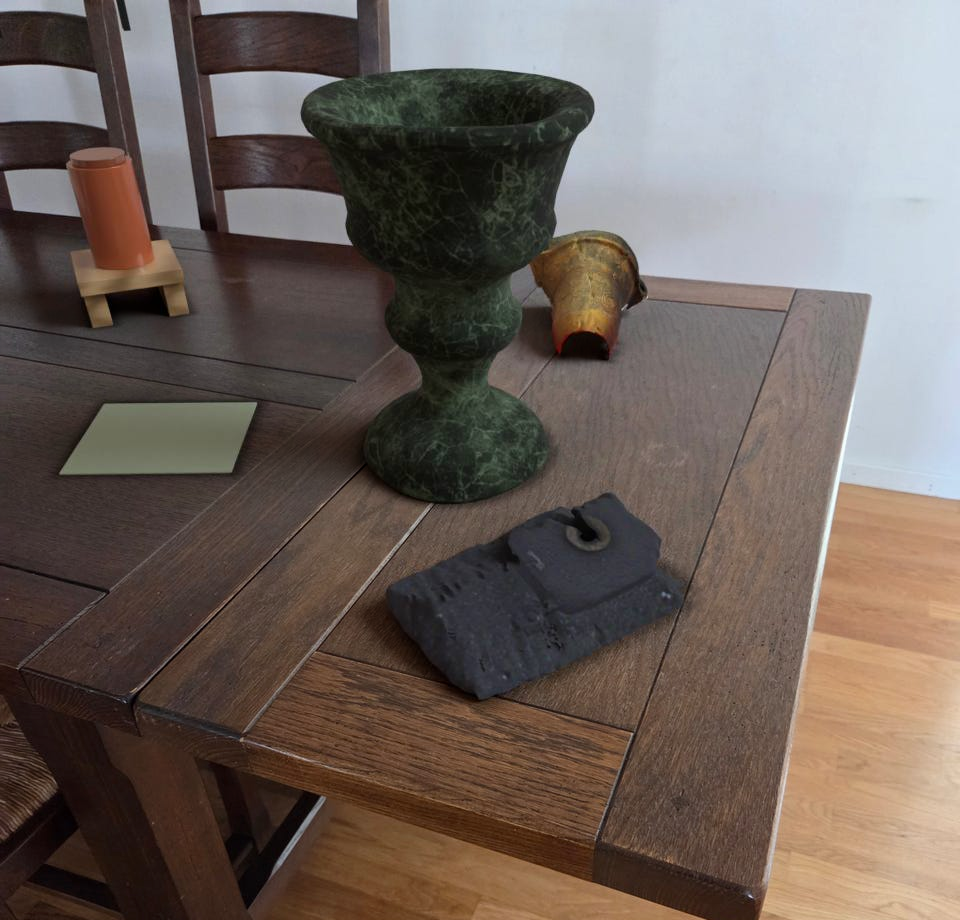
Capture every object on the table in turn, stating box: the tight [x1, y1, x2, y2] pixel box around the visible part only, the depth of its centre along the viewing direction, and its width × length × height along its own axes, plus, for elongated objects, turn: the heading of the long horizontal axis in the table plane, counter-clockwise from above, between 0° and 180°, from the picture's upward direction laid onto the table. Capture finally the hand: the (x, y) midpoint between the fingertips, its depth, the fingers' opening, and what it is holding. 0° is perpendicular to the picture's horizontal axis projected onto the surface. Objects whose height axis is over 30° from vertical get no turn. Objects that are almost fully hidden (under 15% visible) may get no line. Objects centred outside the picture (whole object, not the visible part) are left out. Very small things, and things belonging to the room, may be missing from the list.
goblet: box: [299, 67, 596, 504], centre depth 76 cm, size 22×23×30 cm
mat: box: [58, 401, 258, 476], centre depth 88 cm, size 16×14×1 cm
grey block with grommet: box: [385, 492, 685, 700], centre depth 67 cm, size 15×22×5 cm
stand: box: [70, 238, 190, 329], centre depth 111 cm, size 12×12×6 cm
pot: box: [528, 229, 649, 361], centre depth 105 cm, size 17×11×18 cm
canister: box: [65, 146, 155, 270], centre depth 105 cm, size 7×7×12 cm
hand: (64, 33), depth 101 cm, fingers open, 13 cm apart
